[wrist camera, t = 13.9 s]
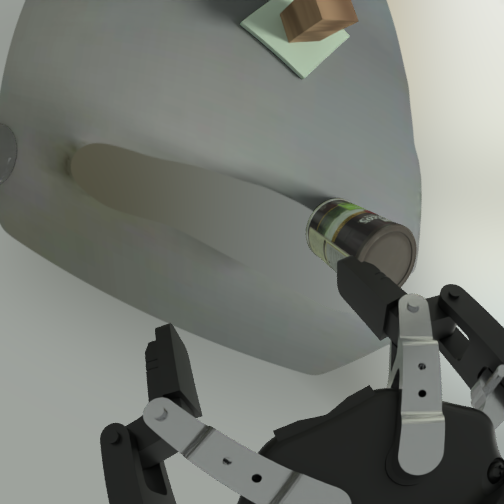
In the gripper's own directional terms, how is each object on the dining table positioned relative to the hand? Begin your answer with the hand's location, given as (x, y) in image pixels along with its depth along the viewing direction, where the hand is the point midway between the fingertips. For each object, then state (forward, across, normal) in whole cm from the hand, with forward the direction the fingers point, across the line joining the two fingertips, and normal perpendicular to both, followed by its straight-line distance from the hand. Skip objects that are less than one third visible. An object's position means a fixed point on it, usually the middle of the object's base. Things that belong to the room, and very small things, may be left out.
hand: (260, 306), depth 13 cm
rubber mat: (+29, -20, -17) cm, 39 cm away
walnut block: (+28, -20, -17) cm, 39 cm away
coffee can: (+26, -19, +15) cm, 35 cm away
